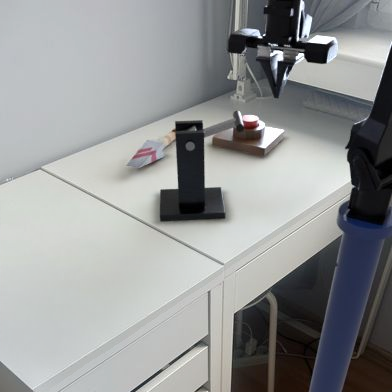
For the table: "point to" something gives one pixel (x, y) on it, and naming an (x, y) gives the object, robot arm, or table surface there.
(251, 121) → the button
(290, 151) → the table surface
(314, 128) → the table surface
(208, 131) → the lever
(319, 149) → the table surface
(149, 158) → the garden trowel
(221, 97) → the table surface
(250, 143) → the button block
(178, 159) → the bracket
